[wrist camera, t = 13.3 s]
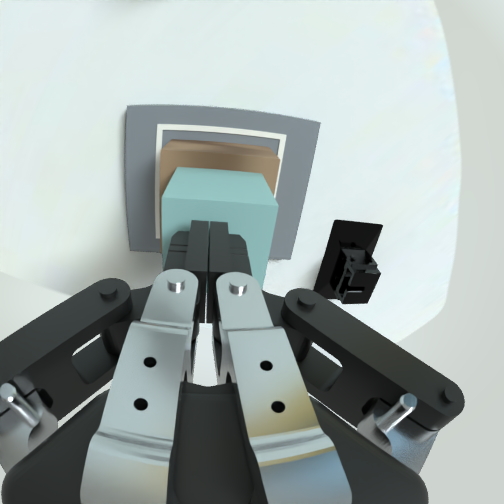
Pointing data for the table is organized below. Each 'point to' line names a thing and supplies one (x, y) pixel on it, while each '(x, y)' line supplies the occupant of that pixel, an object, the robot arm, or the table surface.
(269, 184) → the walnut block
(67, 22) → the table surface
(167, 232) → the teal cube
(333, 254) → the black stepped block
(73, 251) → the table surface
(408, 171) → the table surface
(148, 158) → the board
